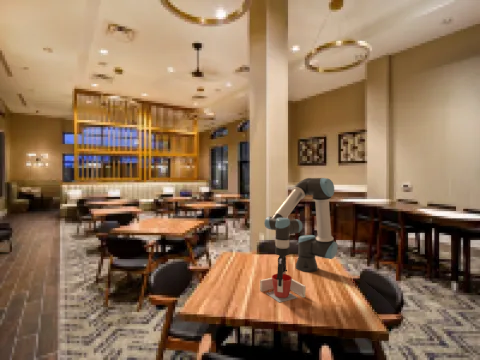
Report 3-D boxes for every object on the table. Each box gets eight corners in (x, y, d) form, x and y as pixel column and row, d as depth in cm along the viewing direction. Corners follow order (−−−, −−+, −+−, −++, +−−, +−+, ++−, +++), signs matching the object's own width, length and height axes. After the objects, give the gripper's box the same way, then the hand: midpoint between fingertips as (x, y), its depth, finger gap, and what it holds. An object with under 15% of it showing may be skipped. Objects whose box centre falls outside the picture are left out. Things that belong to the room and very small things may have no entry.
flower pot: (270, 298, 137) (271, 279, 137) (272, 289, 148) (272, 272, 148) (291, 300, 135) (291, 281, 135) (291, 291, 146) (291, 274, 146)
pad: (283, 289, 150) (283, 288, 150) (297, 298, 139) (297, 297, 139) (265, 293, 144) (265, 292, 144) (279, 302, 133) (279, 302, 133)
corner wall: (285, 285, 156) (285, 275, 156) (305, 297, 140) (305, 285, 140) (260, 290, 147) (260, 280, 147) (278, 303, 132) (278, 292, 132)
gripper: (278, 241, 154) (278, 278, 154) (271, 251, 131) (270, 295, 131) (291, 242, 151) (291, 280, 151) (286, 253, 129) (285, 297, 129)
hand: (281, 287), depth 141 cm, fingers closed on flower pot, 11 cm apart
